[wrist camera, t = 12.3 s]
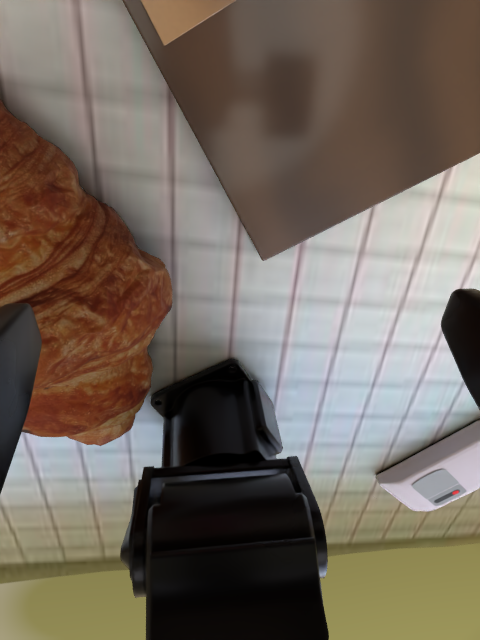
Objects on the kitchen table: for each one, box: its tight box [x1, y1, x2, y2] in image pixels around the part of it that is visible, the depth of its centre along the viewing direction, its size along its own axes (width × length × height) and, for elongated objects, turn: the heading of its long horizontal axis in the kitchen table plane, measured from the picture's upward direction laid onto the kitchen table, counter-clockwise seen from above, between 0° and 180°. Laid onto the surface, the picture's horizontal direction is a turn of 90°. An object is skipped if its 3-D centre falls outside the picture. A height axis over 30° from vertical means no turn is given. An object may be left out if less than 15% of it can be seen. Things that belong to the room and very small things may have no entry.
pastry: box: [0, 100, 172, 446], centre depth 19 cm, size 17×15×8 cm
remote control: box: [374, 420, 480, 511], centre depth 35 cm, size 7×16×3 cm, turn 131°
